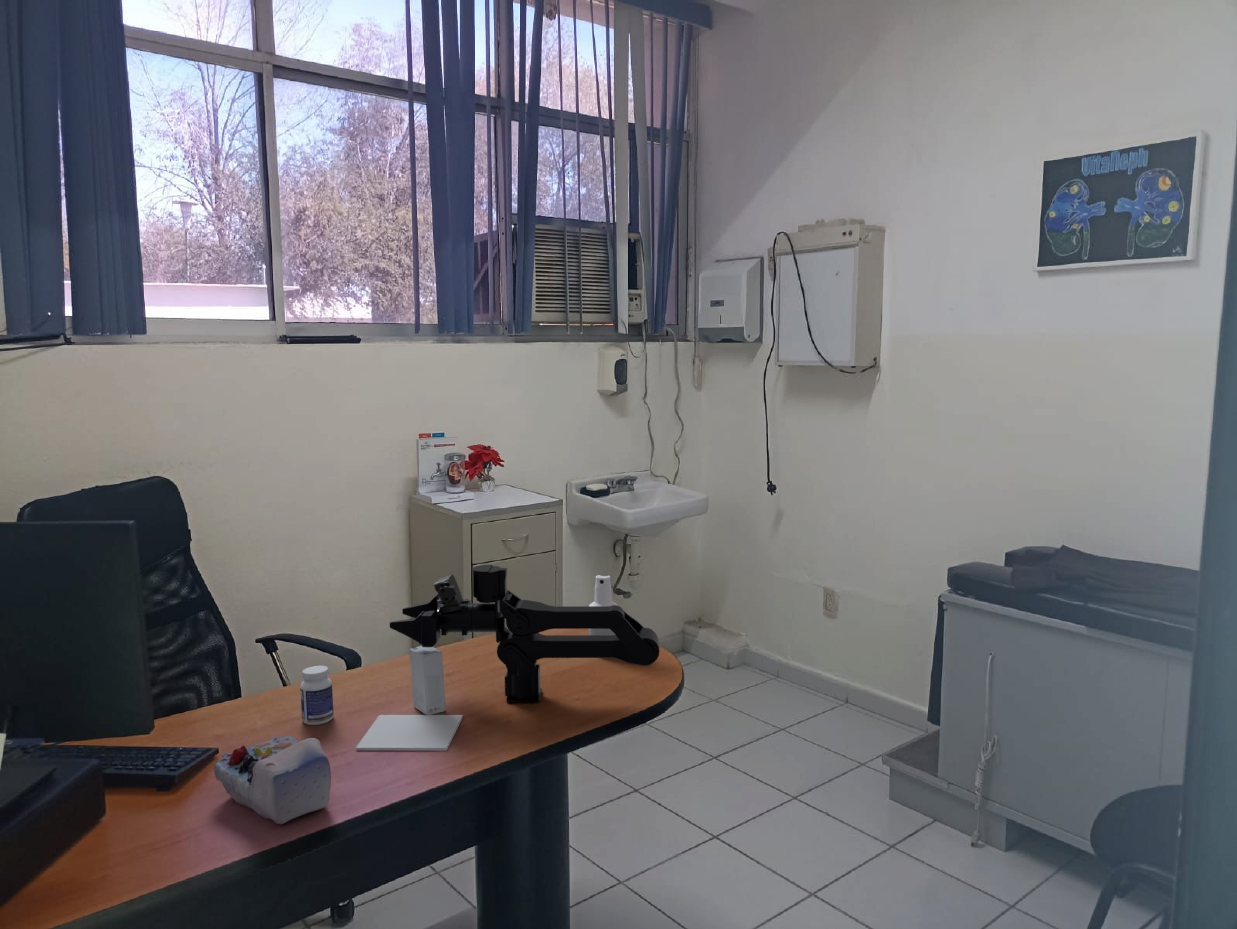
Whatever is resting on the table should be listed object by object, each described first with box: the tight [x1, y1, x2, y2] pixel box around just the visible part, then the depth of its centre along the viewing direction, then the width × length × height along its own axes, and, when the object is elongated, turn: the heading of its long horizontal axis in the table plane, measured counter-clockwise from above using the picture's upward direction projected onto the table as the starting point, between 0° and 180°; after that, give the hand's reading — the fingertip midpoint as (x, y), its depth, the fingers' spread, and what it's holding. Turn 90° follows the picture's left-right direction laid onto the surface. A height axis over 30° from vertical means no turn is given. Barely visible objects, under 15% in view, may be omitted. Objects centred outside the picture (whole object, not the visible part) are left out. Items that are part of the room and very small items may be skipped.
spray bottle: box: [588, 574, 619, 635], centre depth 201 cm, size 7×7×18 cm
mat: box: [355, 714, 464, 752], centre depth 159 cm, size 16×14×1 cm
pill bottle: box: [299, 665, 335, 726], centre depth 165 cm, size 6×6×10 cm
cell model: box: [213, 735, 332, 825], centre depth 135 cm, size 13×11×20 cm
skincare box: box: [409, 645, 447, 715], centre depth 169 cm, size 6×4×12 cm
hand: (396, 618), depth 174 cm, fingers open, 9 cm apart
